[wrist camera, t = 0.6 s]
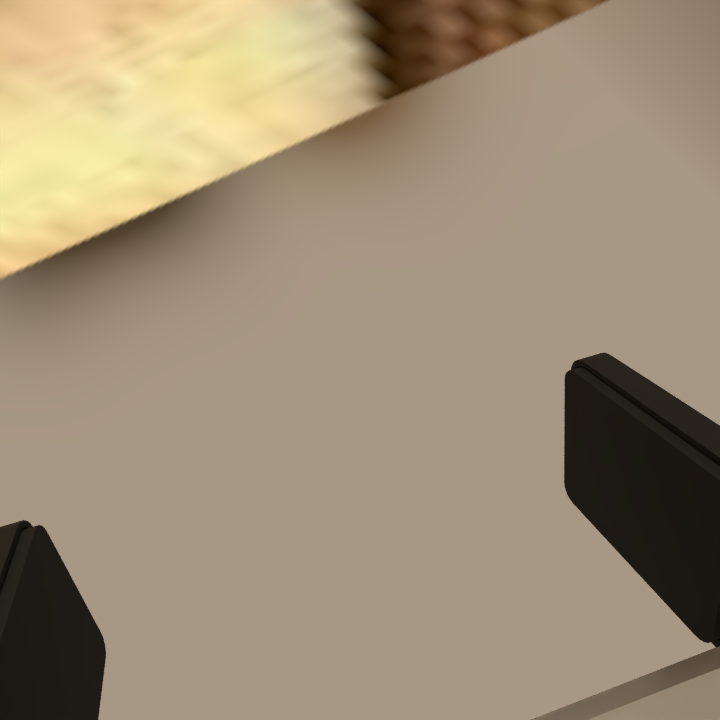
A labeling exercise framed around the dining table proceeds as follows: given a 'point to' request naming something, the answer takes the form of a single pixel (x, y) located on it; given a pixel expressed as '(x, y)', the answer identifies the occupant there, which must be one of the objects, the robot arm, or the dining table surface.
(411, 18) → the dining table surface
